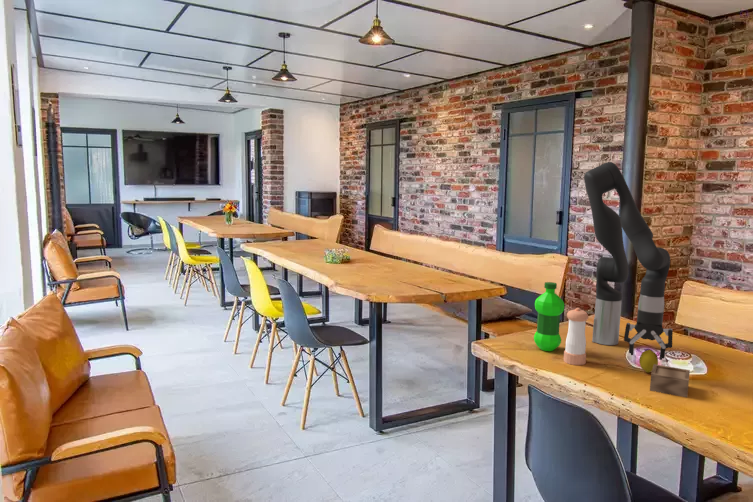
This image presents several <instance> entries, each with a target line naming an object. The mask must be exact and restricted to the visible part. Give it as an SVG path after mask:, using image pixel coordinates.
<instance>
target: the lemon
mask: <svg viewBox="0 0 753 502" xmlns="http://www.w3.org/2000/svg"><path fill="white" fill-rule="evenodd" d="M654 364H656V365H659V358H658V355H657V354H656V352H655V351H653V350H652V349H649V348H648V349H647V350H644V351H642V352H641V354H640V356H639V366H640V368H641V369H642V370H643V371H645V372H646V373H648V374H649V373H650V372H651V373H652V369H653V365H654Z"/></svg>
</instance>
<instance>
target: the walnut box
mask: <svg viewBox="0 0 753 502" xmlns="http://www.w3.org/2000/svg"><path fill="white" fill-rule="evenodd" d="M649 382H650V383H649V384H650V385H649V391H650V392H655V391H656V392H655V393H660V392H661V394H665V395H666V394H667V395H670V394H671V396H677V397H682V398H688V396H689V395H688V393H689V385H690V384H689V383H690V369H685V368H680V367H679V368H678V367H674V366H673V367H672V366H666V365H661V364H658V365H656V364H654V365H653V369H652V371H651V373H650V381H649Z"/></svg>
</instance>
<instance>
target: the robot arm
mask: <svg viewBox="0 0 753 502" xmlns="http://www.w3.org/2000/svg"><path fill="white" fill-rule="evenodd" d="M583 177H584V178H583V179H584V180H583V181H584V187H585V191H586V194H587V197H588V201H589V205H590V208H591V216H592V222H593V223H592V224H593V231H594V235H595V238H596V240H597V242H598V243H599V244H600V245H601V246H602V247H603V248H604V249H605V250H606V251H607V252H608V253H609V254H610V255H611V257H609V256H608V257H607V256H602V257H600V258H599V259H598V260H597V264H596V271H595V272H596V274H595V275H596V282H595V283H596V285H595V306H594V317H593V327H592V328H593V329H592V340H591V341H592V343H596V344H599V345H605V346H614V345H618V344H619V340H620V325H621V314H622V313H621V312H622V297H623V293H622V292H621V291H619V290H618V289H616V288H614V287H612V286H611V285H610V284H609V283H617V284H619V283H622V284H623V283H625V282H626V281H627V280H628V277H629V273H630V272H629V263H628V257H627V254H626V251H625V244H624V237H623V232H624V233H625V235H626V236H627V239H628V240H629V241H630V242H631V243H630V244H632V247H633V250H634V252H635V255H636V257H637V260H638V262H639V263H640V265H641V266H642V267H643V268H644V269H646V271H645V275H644V276H643V278H642V279H641V283H640V291H639V298H638V304H637V314H636V315H637V316H636V317H637V318H636V323H635V324H632V323H630V322H627V323H626V325H625V329H624V330H625V331H624V334H623V335H624V336H623V337H624V338H623V341H624V342H626V343H628V344H629V345H628V353H629V354H630V355H631V356H634V351H635V350H634V349H635V343H636V342H638V340H639V339H640V338H641V339H642V340H649V341H656V343H658V345H659V346H660V348H659V349H660V351H659V360H660V361H662V360H663V359H665V357H666V349H672V348H673V335H674V334H673V328H671V327H670V328H663V324H664V323H663V322H664V312H665V311H664V310H665V290H666V282H667V278H668V274H669V270H670V267H671V255H670V253H669V252H668V250H667V249H665V248H664V247H659V246H658V247H657V245H656V243H655V242H654V239H653V238H654V233H653V231H652V230H651V228H650V226H649V225H648V224H647V223H648V222H646V221H645V218H643V216H642V214H641V212H640V210H639V209H638V207H637V204H636V202H635V200H634V197H633V195H632V193H631V190H630V188H629V186H628V184H627V182H626V179H625V177H624V175H623V174H622V171H621V169H620V168H619V167H618V166H617V165H616V164H615V163H614V162H612V161H608V162H604V163H603V164H599V165H598V166H596V167H594V168H592V169H589V170H587V171H586V172H585V173H584V176H583ZM612 190H615V191H616V193H617V194H618V195H617V196H618V197H619V205H620V206H619V207H620V209H619V214H618V213H617V212H616V211H615V210H614V209H612V208H611V207H609V206H608V205H607V204H606V203H605V202H604V200H603V199H604V198H603V195H604V194H606V193H608V192H610V191H612ZM633 329H634V330H635V331H636V332H637V333H636V334H635V335H634V336H633V337H631V338H630V332H631V331H633ZM663 333H665V336H667V337H668V338H667V342H666V343H665V342H664V340H663V339H662V337H661V335H662V334H663Z"/></svg>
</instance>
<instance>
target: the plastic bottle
mask: <svg viewBox="0 0 753 502" xmlns="http://www.w3.org/2000/svg"><path fill="white" fill-rule="evenodd" d="M543 287H544V289H545V291H544V292H543V293H542V294H541V295H539V296H538V297H537V298H536V299H535V301H534V308H535V311H536V312H537V319H536V331H535V333H534V334H533V340H534V343H535V345H536V346H537V347H538V348H539V349H540V350H541V351H545V352H553V351H555V350H556V349H557V348H559V347H560V345H561V343H562V338H561V335H560V324H561V321H560V320H561V314H562V313H564V310H565V303H564V300H563V299H562V298H561V297H560V296H559V295H558V294H557V293H556V291H555V290H556V289H557V287H558V286H557V283H556V282H551V281H547V282H544V286H543Z"/></svg>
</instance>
